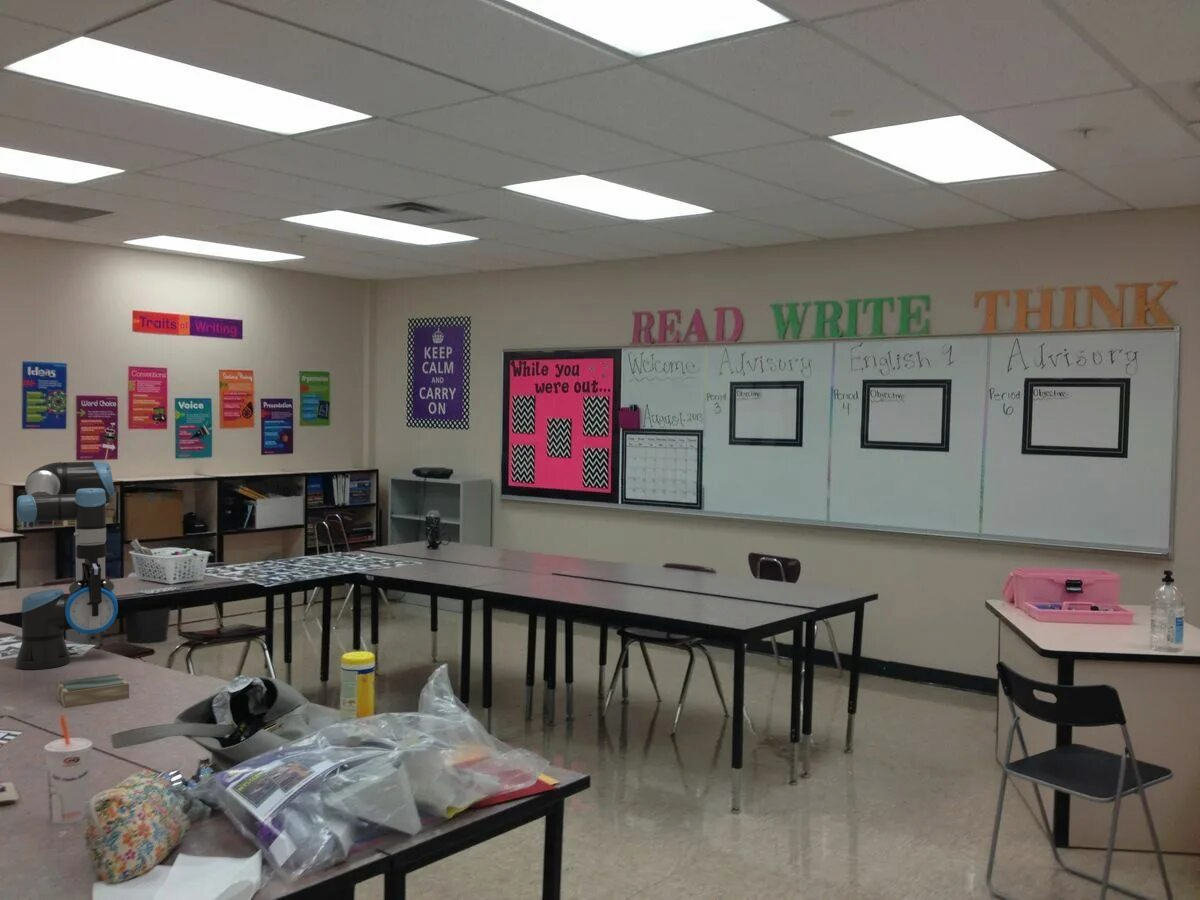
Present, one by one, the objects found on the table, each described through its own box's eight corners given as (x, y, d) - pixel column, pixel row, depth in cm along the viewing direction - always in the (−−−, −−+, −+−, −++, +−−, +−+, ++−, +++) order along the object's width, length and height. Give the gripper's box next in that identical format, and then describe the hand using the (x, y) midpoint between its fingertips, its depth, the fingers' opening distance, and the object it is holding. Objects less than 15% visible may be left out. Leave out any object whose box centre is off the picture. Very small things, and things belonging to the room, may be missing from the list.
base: (56, 696, 287) (56, 681, 287) (118, 687, 297) (118, 673, 296) (65, 707, 276) (65, 691, 276) (129, 698, 285) (128, 682, 285)
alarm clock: (65, 636, 280) (64, 582, 280) (66, 632, 286) (65, 579, 285) (118, 632, 286) (117, 579, 286) (117, 628, 292) (117, 576, 291)
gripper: (70, 541, 291) (70, 621, 291) (82, 547, 275) (83, 632, 276) (98, 539, 295) (99, 618, 296) (113, 545, 280) (114, 629, 280)
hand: (92, 625), depth 286 cm, fingers closed on alarm clock, 7 cm apart
